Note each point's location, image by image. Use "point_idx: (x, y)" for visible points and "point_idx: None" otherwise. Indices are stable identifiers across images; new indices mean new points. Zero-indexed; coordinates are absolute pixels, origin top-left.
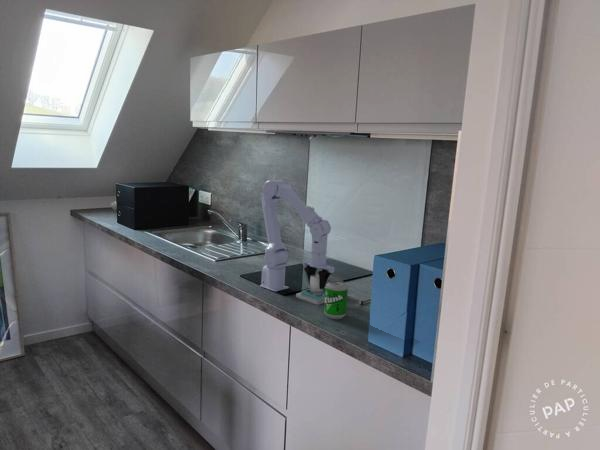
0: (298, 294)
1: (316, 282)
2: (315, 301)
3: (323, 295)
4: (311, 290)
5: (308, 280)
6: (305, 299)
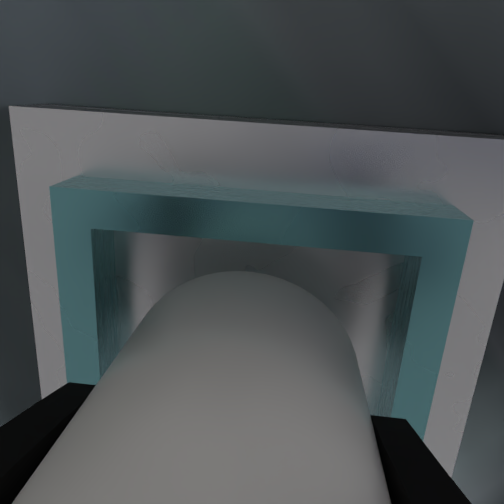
0: (472, 135)
1: (76, 431)
2: (64, 109)
3: (70, 333)
4: (255, 287)
5: (458, 494)
6: (288, 121)
